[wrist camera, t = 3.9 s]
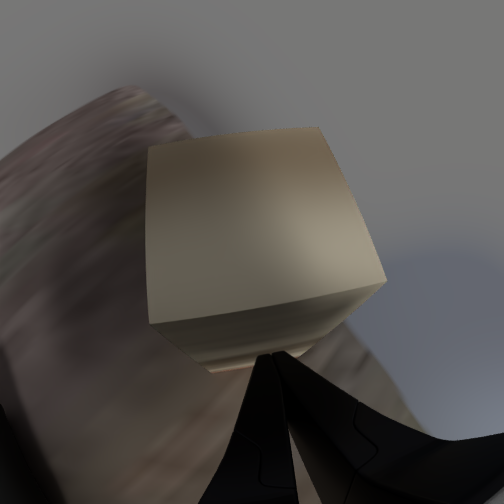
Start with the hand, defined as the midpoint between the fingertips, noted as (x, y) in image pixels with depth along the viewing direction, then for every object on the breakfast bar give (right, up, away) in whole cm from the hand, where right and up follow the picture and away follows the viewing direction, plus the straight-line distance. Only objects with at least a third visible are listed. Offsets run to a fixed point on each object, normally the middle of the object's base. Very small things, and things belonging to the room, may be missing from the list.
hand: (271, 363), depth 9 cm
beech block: (-1, -1, +9) cm, 9 cm away
